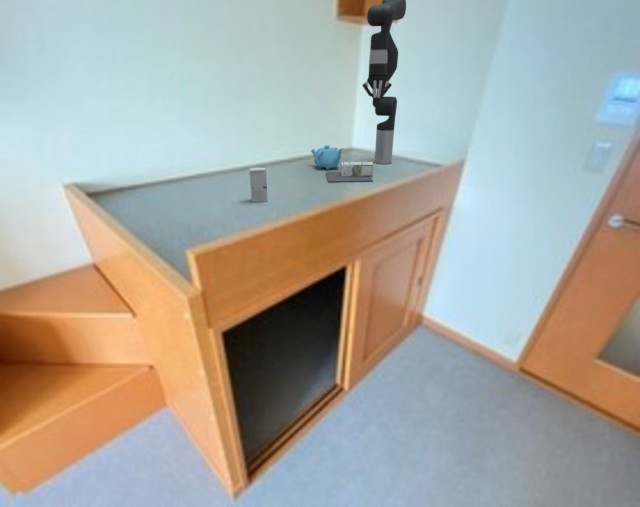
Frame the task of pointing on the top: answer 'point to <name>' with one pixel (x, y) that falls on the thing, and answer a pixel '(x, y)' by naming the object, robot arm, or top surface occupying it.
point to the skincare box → (258, 184)
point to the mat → (346, 178)
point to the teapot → (327, 157)
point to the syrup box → (357, 169)
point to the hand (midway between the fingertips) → (375, 106)
